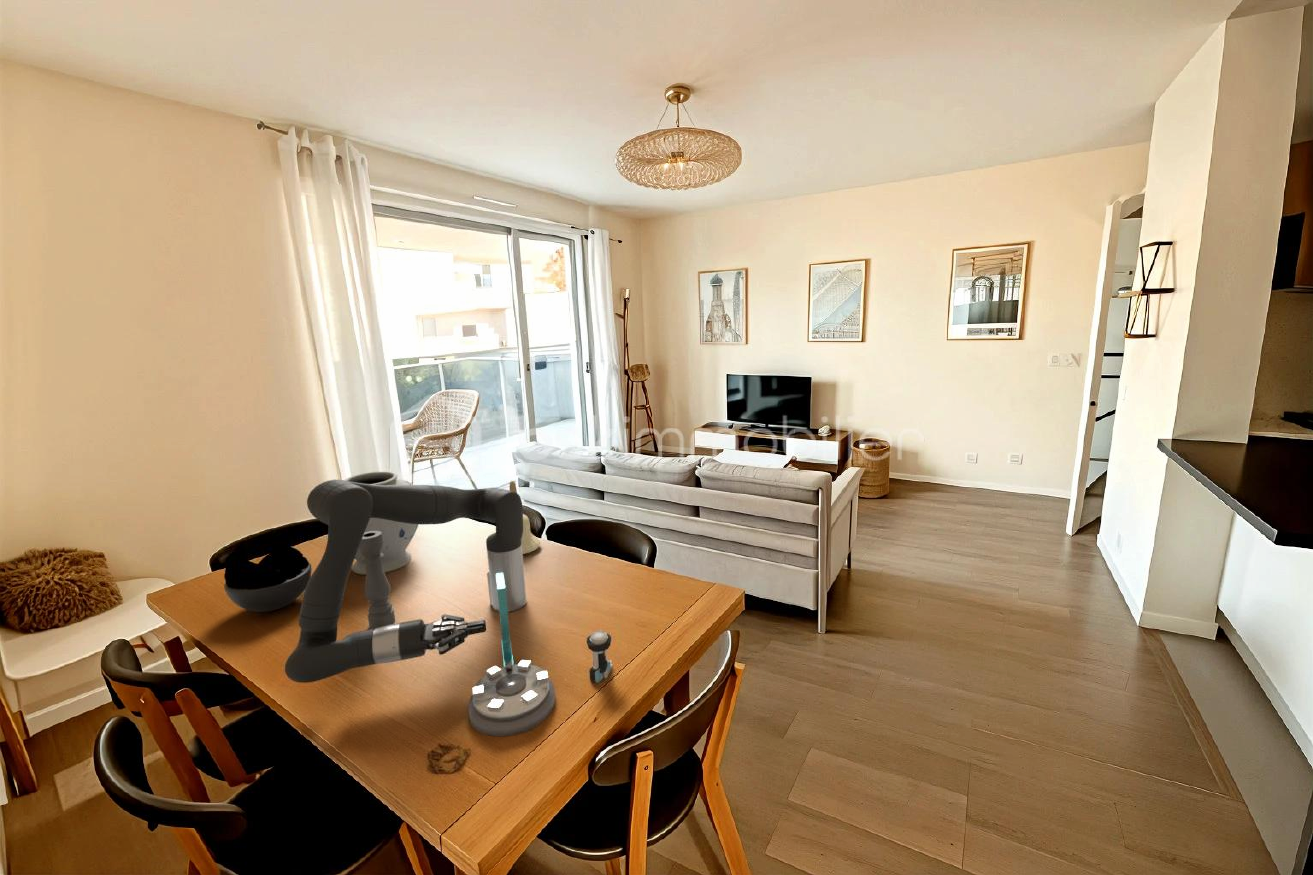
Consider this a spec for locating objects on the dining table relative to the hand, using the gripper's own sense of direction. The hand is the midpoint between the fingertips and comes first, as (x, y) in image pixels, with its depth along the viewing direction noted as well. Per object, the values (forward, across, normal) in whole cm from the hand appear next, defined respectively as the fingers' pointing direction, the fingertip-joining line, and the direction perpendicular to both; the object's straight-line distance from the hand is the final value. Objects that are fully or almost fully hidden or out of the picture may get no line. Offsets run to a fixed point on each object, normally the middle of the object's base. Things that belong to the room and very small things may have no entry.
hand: (485, 625), depth 118 cm
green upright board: (+4, -8, +9) cm, 13 cm away
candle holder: (-27, +32, +12) cm, 43 cm away
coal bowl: (-58, +53, +12) cm, 79 cm away
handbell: (+11, +68, +12) cm, 70 cm away
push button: (+24, -10, +12) cm, 28 cm away
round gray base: (+4, -13, +12) cm, 18 cm away
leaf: (-7, -24, +12) cm, 27 cm away
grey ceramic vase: (-33, +73, +12) cm, 81 cm away
